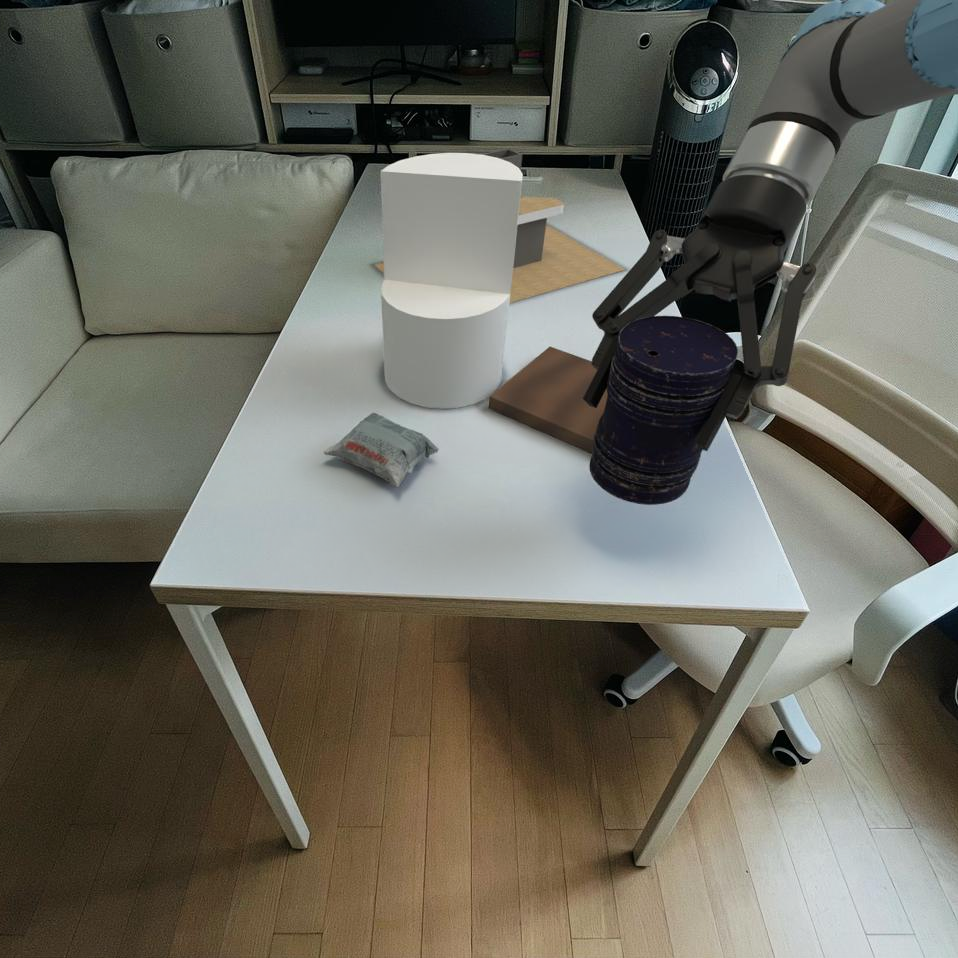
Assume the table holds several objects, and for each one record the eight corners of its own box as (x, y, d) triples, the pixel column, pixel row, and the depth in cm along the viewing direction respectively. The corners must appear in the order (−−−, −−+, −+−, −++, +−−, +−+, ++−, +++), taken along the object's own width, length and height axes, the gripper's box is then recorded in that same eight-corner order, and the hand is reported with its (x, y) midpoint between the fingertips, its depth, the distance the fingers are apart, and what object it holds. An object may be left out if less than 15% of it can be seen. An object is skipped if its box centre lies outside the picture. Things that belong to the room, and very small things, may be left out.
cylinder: (404, 336, 106) (402, 149, 87) (512, 351, 101) (534, 157, 82) (367, 397, 94) (355, 196, 75) (487, 418, 89) (506, 208, 70)
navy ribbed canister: (637, 429, 72) (672, 304, 62) (712, 480, 65) (766, 350, 55) (567, 462, 69) (592, 336, 59) (639, 520, 62) (682, 388, 52)
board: (679, 406, 89) (683, 393, 88) (625, 468, 81) (629, 455, 79) (548, 357, 99) (549, 346, 98) (488, 408, 91) (489, 396, 89)
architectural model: (542, 222, 136) (556, 116, 123) (625, 269, 119) (652, 152, 105) (374, 264, 126) (368, 154, 112) (438, 323, 108) (441, 200, 95)
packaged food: (398, 501, 78) (398, 470, 75) (323, 463, 84) (320, 433, 81) (439, 462, 83) (441, 431, 80) (366, 429, 89) (364, 399, 86)
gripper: (904, 243, 55) (773, 481, 57) (645, 191, 67) (545, 391, 69) (923, 197, 49) (775, 468, 51) (633, 149, 60) (523, 371, 63)
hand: (643, 424), depth 60 cm, fingers closed on navy ribbed canister, 10 cm apart
